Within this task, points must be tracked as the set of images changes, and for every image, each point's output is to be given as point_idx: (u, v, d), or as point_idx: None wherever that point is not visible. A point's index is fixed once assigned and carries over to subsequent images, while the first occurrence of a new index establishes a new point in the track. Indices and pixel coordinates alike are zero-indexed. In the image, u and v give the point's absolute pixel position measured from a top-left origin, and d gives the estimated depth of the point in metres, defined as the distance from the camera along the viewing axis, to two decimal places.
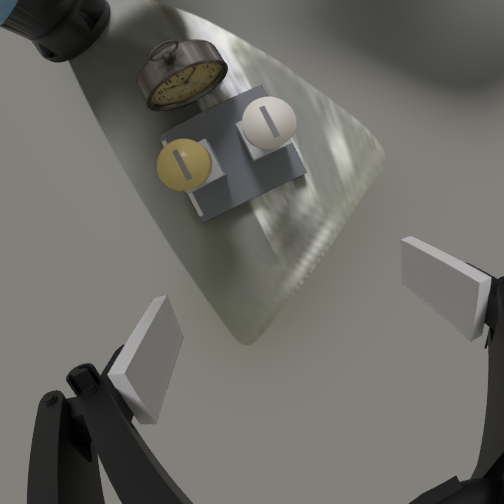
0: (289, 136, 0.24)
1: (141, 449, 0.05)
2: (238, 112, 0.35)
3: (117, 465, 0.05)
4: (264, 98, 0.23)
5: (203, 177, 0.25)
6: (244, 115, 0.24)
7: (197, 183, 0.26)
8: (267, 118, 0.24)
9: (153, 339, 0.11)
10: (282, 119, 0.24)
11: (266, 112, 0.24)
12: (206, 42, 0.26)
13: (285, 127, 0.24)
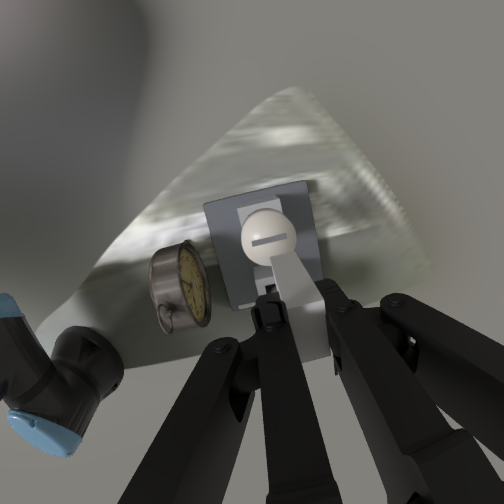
0: (289, 223, 0.25)
1: (310, 396, 0.06)
2: (228, 234, 0.38)
3: (278, 407, 0.06)
4: (243, 239, 0.26)
5: None
6: (257, 262, 0.26)
7: None
8: (265, 240, 0.26)
9: None
10: (270, 226, 0.25)
11: (258, 241, 0.26)
12: (153, 264, 0.31)
13: (278, 225, 0.25)
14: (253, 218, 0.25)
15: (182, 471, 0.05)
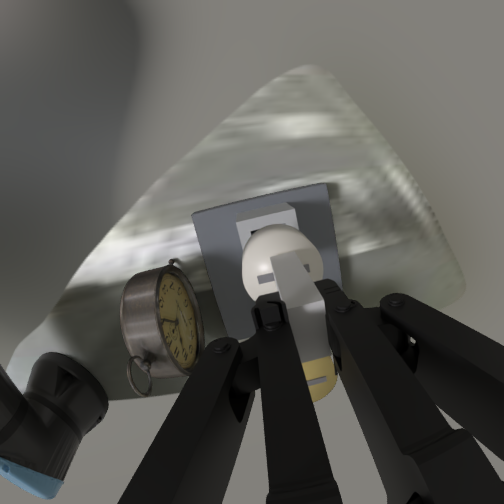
0: (313, 249, 0.17)
1: (310, 396, 0.06)
2: (225, 253, 0.29)
3: (278, 407, 0.06)
4: (244, 273, 0.17)
5: (330, 364, 0.19)
6: None
7: (334, 371, 0.19)
8: None
9: None
10: None
11: (268, 276, 0.17)
12: (125, 298, 0.22)
13: (298, 252, 0.17)
14: (260, 242, 0.17)
15: (182, 471, 0.05)
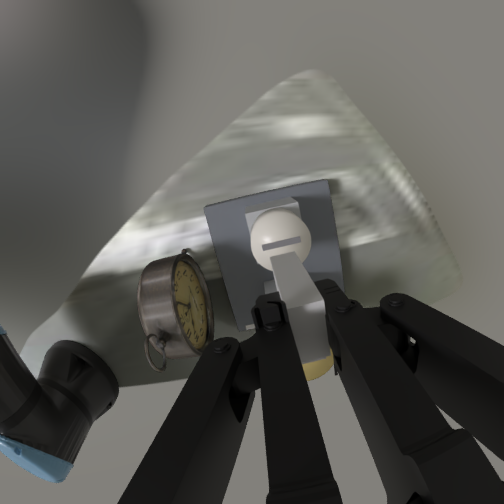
0: (303, 225, 0.23)
1: (310, 396, 0.06)
2: (234, 243, 0.32)
3: (278, 407, 0.06)
4: (252, 242, 0.23)
5: None
6: (267, 267, 0.24)
7: None
8: (276, 244, 0.23)
9: None
10: (282, 228, 0.23)
11: (270, 245, 0.23)
12: (143, 282, 0.25)
13: (292, 227, 0.23)
14: (264, 219, 0.23)
15: (182, 471, 0.05)
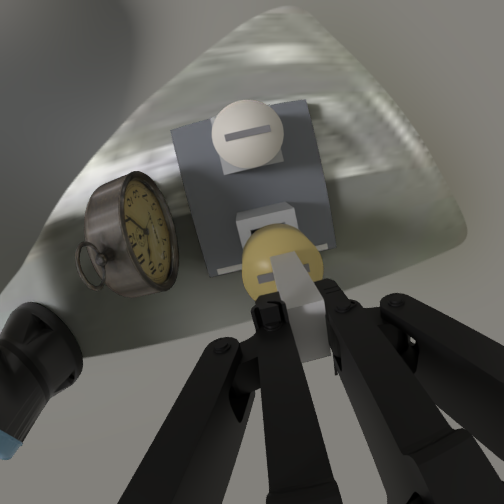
0: (273, 113, 0.18)
1: (310, 396, 0.06)
2: (202, 167, 0.27)
3: (278, 407, 0.06)
4: (213, 132, 0.18)
5: (312, 246, 0.17)
6: (232, 162, 0.19)
7: (318, 257, 0.17)
8: (242, 134, 0.18)
9: None
10: (248, 116, 0.18)
11: (234, 134, 0.18)
12: (93, 196, 0.20)
13: (259, 115, 0.18)
14: (227, 107, 0.18)
15: (182, 471, 0.05)
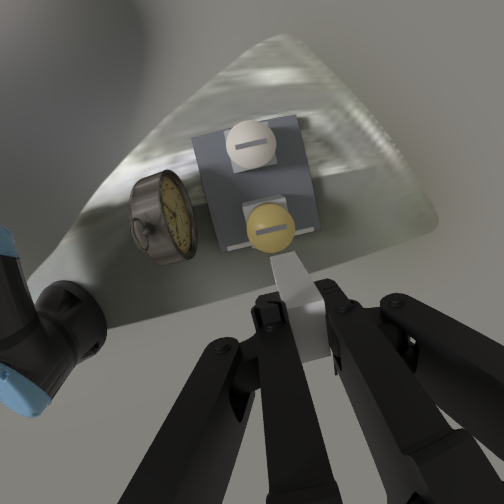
0: (268, 129, 0.26)
1: (310, 396, 0.06)
2: (216, 167, 0.35)
3: (278, 407, 0.06)
4: (227, 143, 0.27)
5: (287, 213, 0.29)
6: (240, 164, 0.27)
7: (291, 220, 0.29)
8: (247, 144, 0.27)
9: None
10: (251, 132, 0.26)
11: (241, 145, 0.27)
12: (135, 187, 0.29)
13: (259, 131, 0.26)
14: (236, 125, 0.26)
15: (182, 471, 0.05)
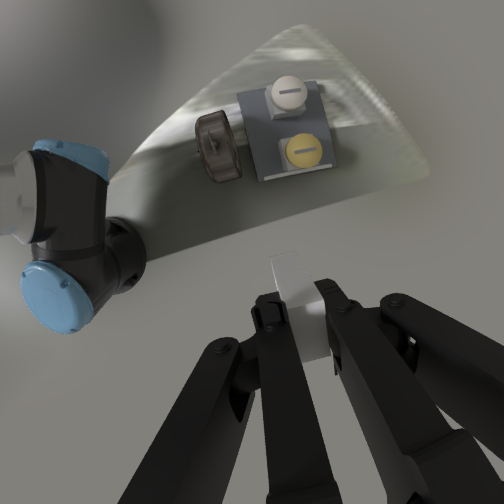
0: (302, 82, 0.35)
1: (310, 396, 0.06)
2: (256, 115, 0.43)
3: (278, 407, 0.06)
4: (273, 89, 0.35)
5: (316, 139, 0.37)
6: (282, 104, 0.35)
7: (319, 144, 0.37)
8: (287, 91, 0.35)
9: None
10: (290, 83, 0.35)
11: (283, 91, 0.35)
12: (200, 119, 0.37)
13: (295, 83, 0.35)
14: (279, 78, 0.34)
15: (182, 471, 0.05)
